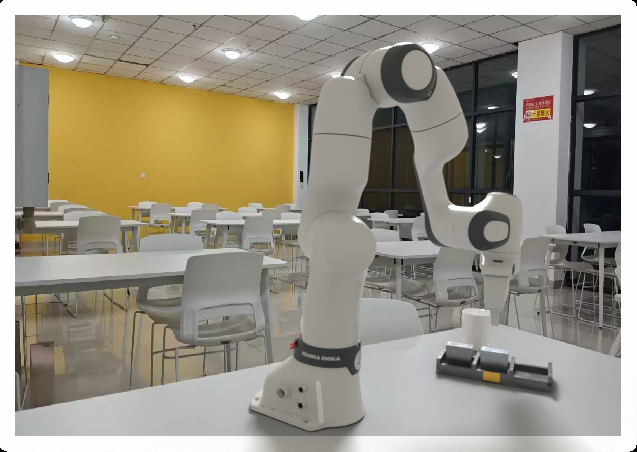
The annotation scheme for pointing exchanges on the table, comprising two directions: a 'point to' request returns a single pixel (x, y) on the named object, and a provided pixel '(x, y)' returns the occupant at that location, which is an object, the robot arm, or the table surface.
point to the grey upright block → (494, 360)
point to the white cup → (476, 327)
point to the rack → (464, 364)
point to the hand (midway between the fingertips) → (496, 321)
